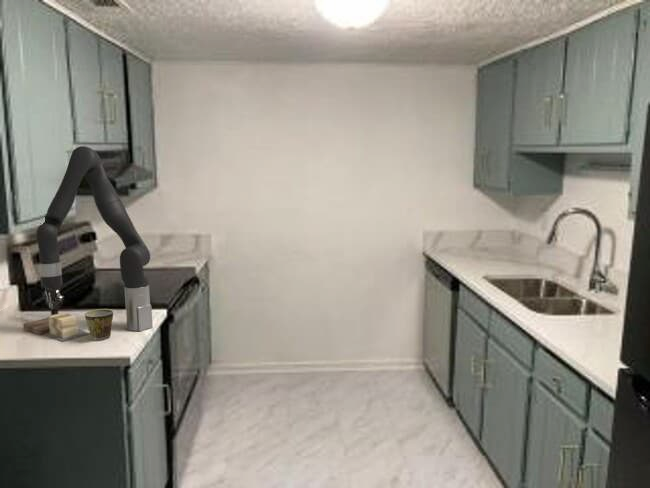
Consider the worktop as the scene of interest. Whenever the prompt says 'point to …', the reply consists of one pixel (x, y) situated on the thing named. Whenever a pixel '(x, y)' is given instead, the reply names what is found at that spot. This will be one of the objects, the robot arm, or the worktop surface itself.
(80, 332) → the mat
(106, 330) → the ceramic cup
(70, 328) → the block
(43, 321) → the brown flat slab
